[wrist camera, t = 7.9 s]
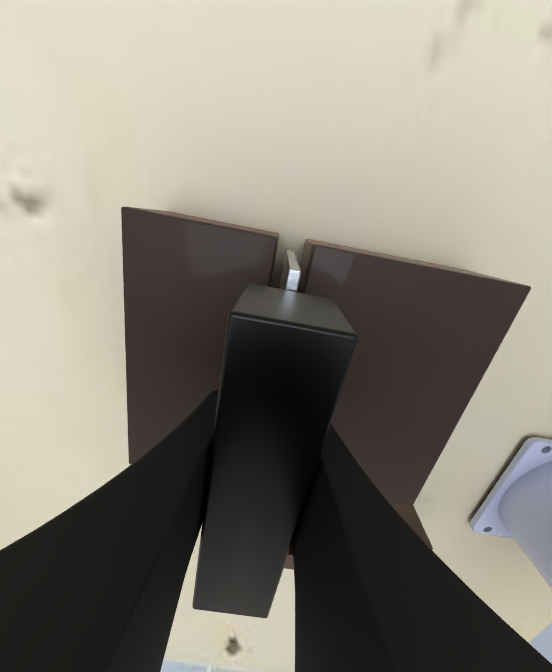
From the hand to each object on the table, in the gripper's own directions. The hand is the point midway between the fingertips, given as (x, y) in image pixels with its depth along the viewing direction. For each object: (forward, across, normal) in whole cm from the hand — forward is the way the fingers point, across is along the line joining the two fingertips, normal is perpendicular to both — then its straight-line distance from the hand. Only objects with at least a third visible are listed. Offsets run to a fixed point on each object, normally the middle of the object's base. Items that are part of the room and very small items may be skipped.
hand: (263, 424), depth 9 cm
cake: (+6, -4, 0) cm, 7 cm away
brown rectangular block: (+6, +3, 0) cm, 7 cm away
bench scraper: (+5, 0, 0) cm, 5 cm away
